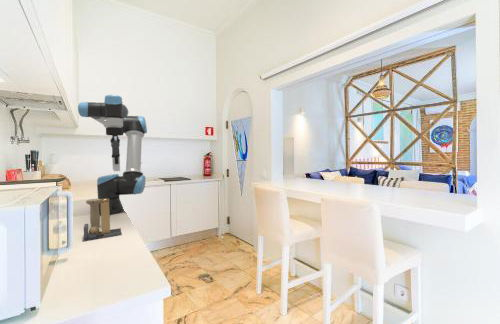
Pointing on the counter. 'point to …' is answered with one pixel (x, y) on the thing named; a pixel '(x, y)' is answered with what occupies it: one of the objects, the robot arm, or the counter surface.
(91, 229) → the round brown knob
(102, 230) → the lever
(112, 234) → the slotted metal plate
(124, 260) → the counter surface
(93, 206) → the handle
